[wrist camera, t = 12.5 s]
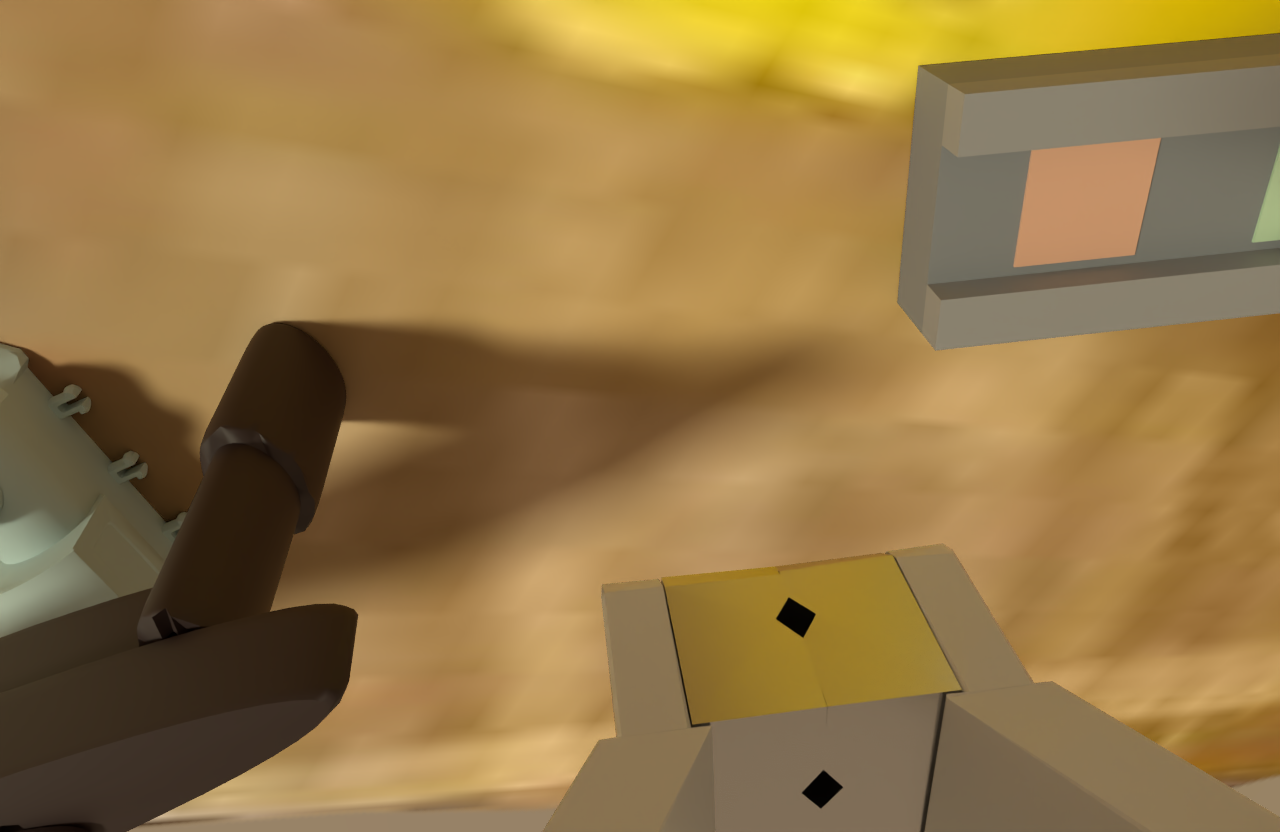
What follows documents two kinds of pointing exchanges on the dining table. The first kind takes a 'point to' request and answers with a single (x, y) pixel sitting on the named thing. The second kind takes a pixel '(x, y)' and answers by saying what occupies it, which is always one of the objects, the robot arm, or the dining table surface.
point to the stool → (160, 598)
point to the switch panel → (1093, 191)
